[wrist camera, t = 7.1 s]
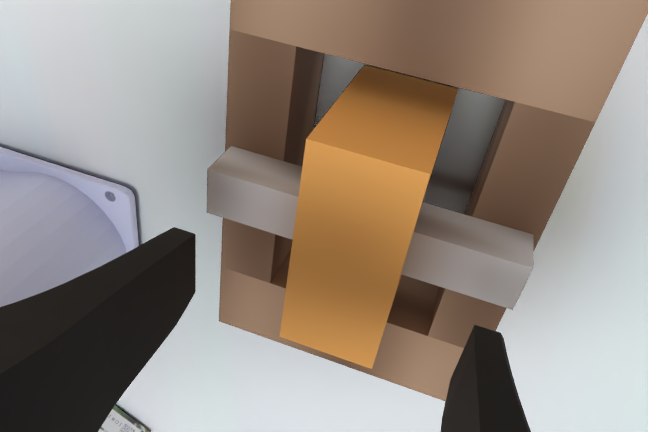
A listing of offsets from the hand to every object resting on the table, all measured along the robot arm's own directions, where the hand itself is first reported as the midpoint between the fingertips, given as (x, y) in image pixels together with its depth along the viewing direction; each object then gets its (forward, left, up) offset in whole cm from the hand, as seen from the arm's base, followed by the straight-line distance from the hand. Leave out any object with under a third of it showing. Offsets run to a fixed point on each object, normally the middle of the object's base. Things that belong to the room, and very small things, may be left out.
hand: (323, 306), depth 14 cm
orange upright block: (0, 0, -7) cm, 7 cm away
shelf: (0, 0, -8) cm, 8 cm away
